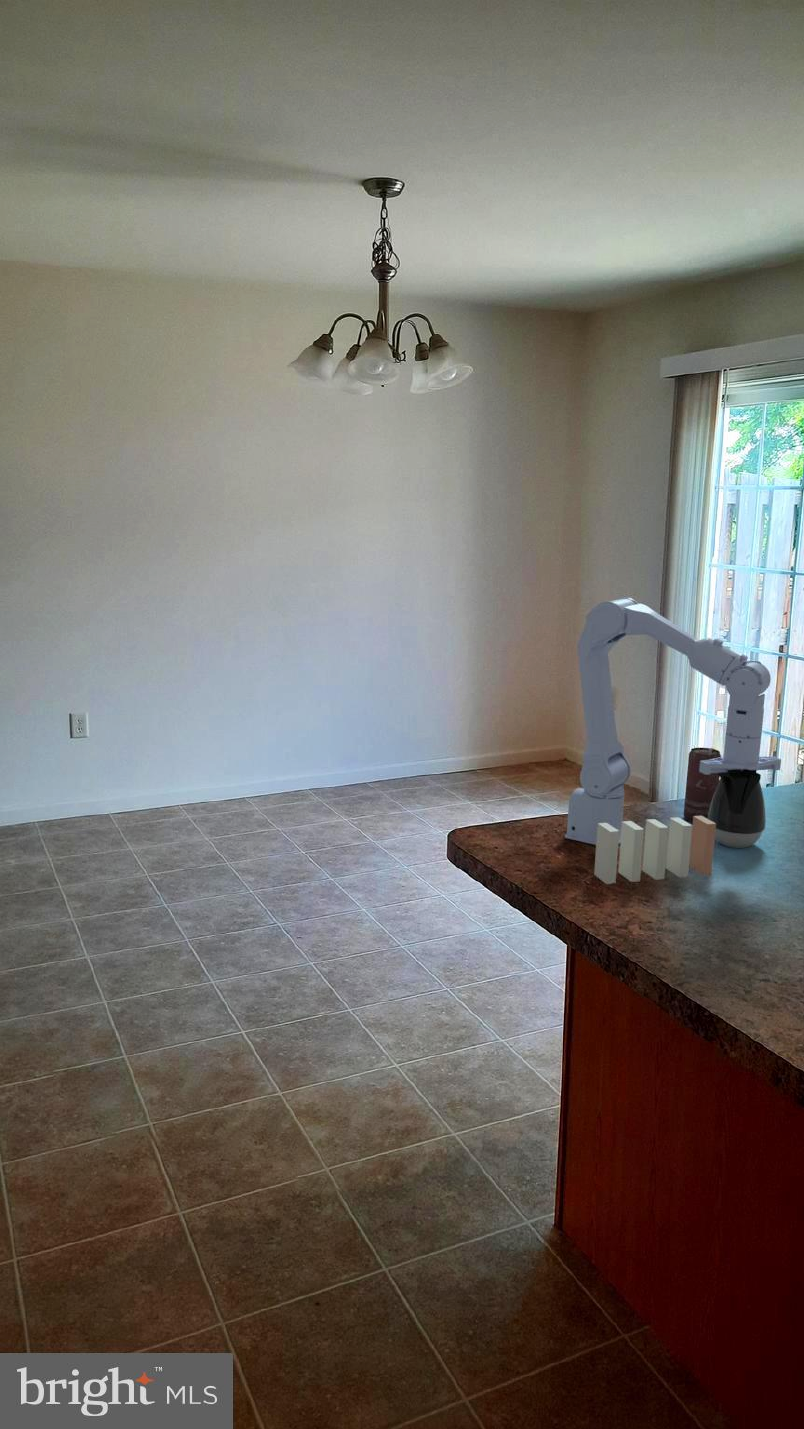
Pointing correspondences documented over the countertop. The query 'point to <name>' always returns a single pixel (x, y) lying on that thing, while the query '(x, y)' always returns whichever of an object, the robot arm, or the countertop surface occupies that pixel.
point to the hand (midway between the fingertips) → (735, 812)
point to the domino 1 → (606, 853)
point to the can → (699, 784)
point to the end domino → (702, 845)
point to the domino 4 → (678, 847)
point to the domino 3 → (655, 849)
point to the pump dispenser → (737, 818)
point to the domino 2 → (631, 851)
